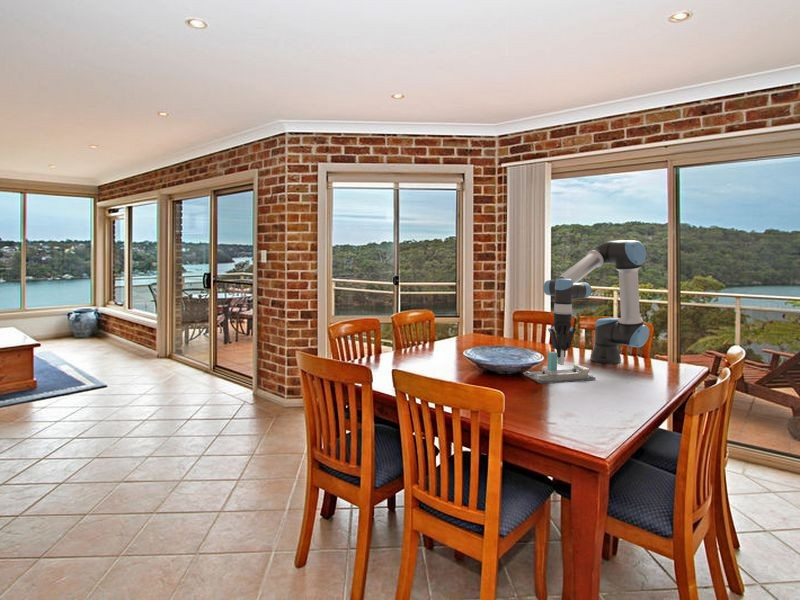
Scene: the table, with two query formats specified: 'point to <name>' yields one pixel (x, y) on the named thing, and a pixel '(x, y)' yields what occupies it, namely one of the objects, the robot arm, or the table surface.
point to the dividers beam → (567, 374)
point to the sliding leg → (551, 364)
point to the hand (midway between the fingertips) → (560, 364)
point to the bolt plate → (534, 376)
